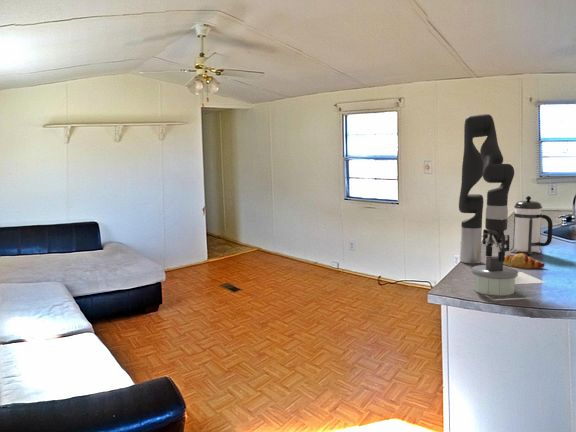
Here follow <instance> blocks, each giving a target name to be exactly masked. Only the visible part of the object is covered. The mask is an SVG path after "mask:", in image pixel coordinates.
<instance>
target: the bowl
mask: <svg viewBox="0 0 576 432" xmlns="http://www.w3.org/2000/svg"><path fill="white" fill-rule="evenodd" d="M473 276H474V277H473V290H474V291H475V292H476V293H477V294H480V295H484V296H487V295H491V296H511V295H513V294H515V285H516V284H515V278H511V279H492V278H485V277H481V276H477V275H475V274H473Z"/></svg>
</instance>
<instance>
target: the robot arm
mask: <svg viewBox="0 0 576 432" xmlns="http://www.w3.org/2000/svg"><path fill="white" fill-rule="evenodd" d="M463 129H464V130H463V132H464V133H463V136H464V137H463V138H464V139H463V140H464V141H463V156H462V157H463V159H462V165H461V185H460V192H459V198H458V211H459V213H461V214H474V215H473V216H472V217H470V218H466V219H464V220H462V221H461V226H460V227H461V228H460V230H461V231H460V233H461V234H460V235H461V236H460V248H459V249H460V253H459V254H460V255H459V259H460V260H459V261H460V262H462V263H463V264H472V265H474V264H480V263H481V262H482V261H481V260H482V245H484V247H485V256H486V257H493V245H495V246H494V247H496V248H497V250H498V252H497V256H498V261H499V262H504V261H505V256H506V252H510V235H509V234H505V231H506V230H507V229H508V219H509V218H508V216H509V215H508V214H509V210H508V208H509V207H508V199H509V191H510V188H511V185H512V182H513V179H514V177H515V168H514V167H513V165H512V164H510V163H504V157H503V154H502V151H501V148H500V147H499V143H498V137H497V130H496V126H495V121H494V118H493V116H492V115H491V114H487V113H486V114H485V113H484V114H475V115H469V116H466V118H465V119H464V127H463ZM481 137H482V138H484V137H486V138H485V140H484V142H483V143H482V145H481V147H480V151H479V150H478V149H477V147H476V145H475V143H474V140H473V139H474V138H481ZM481 179H483V181H484V182H486V183H489V184H500V185H499V186H498V187H497V188H492V189H489V190H488V191H487V192H486V207H485V221H484V223H485V229H483V213H484V197H483V195H482V194H478V193H473V194H470V191H471V190H472V188H474V186H476V184H477V183H478V182H479V181H480V180H481Z"/></svg>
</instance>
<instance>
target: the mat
mask: <svg viewBox="0 0 576 432" xmlns="http://www.w3.org/2000/svg"><path fill="white" fill-rule="evenodd" d="M544 283H545V284H546V283H547V282H546V281H543V279H542V280H541V279H539V278H537V277H534V276H532V275H530V274H527V273H525V272H523V271H521V272H520V271H519V272H518V276H517V277H515V285H525V284H528V285H529V284H544Z"/></svg>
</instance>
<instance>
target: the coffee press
mask: <svg viewBox="0 0 576 432" xmlns="http://www.w3.org/2000/svg"><path fill="white" fill-rule="evenodd" d="M542 209H543V206H542V203H540V202H538V201H537V200H536V201H534V200H532V197H531V196H530V195H527V196H526V197H525V200H520V201H517V202H516V203H515V205H514V207H513V209H512V210H513V211H514V213H513V214H514V215H513V217H514V218H513V238H512V247H511V248H510V249H509V252H511V253H512V254H513V253H514V252H516V251H518V252H521V253H526V254H527V256H528V257H532V253H536V252H537V253H539V254H542V253H543V250H541V248H540V247H548V246H549V245H550V244H551V243H552V239H553V221H552V218H551V217H550V216H548V215H546V214H542ZM542 219H544V220H546V221H547V236H546V237H547V238H546V241H545V242H541V230H542V229H541V228H542V227H541V226H542ZM513 249H514V250H513ZM539 251H540V252H539Z"/></svg>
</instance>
